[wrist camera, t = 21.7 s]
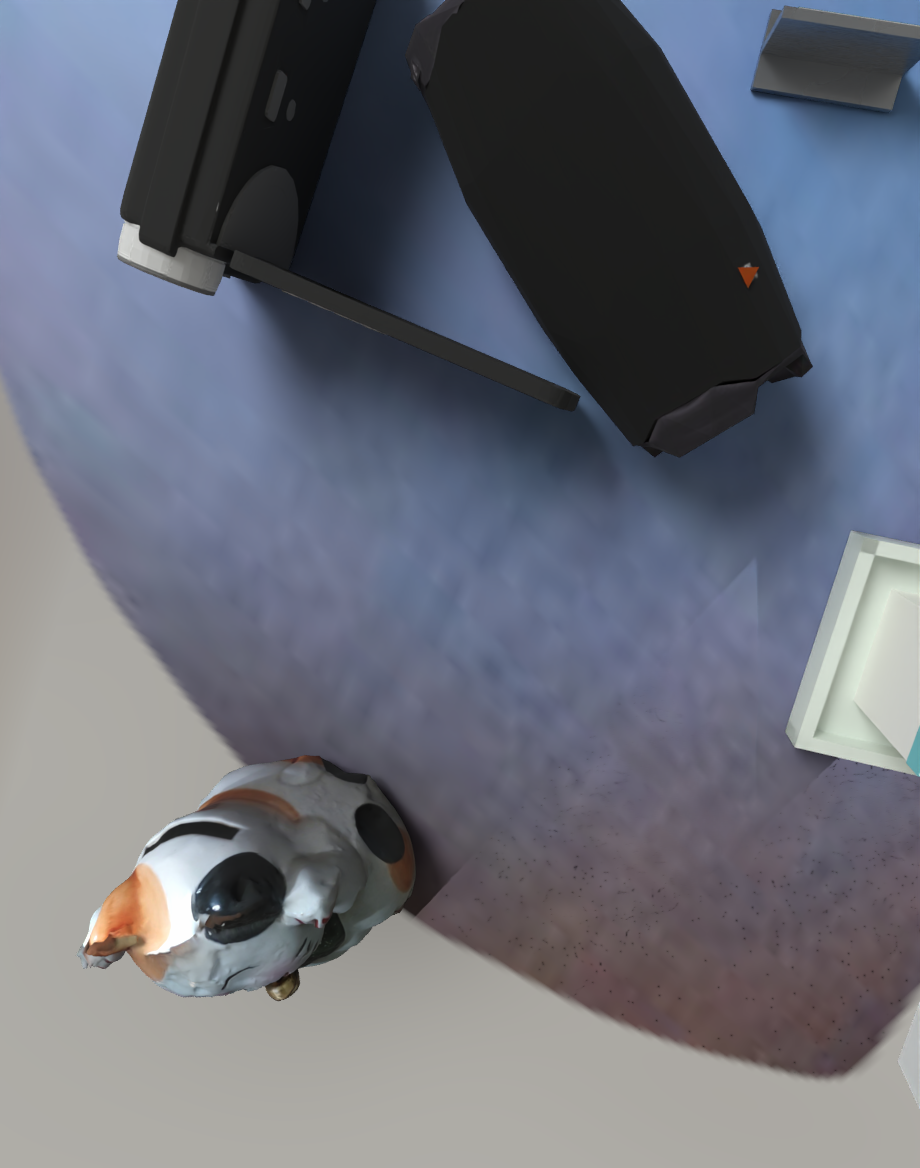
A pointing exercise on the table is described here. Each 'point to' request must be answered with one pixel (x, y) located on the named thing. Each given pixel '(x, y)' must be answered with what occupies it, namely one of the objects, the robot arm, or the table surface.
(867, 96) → the card holder
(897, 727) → the block
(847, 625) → the tray
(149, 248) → the camcorder
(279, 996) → the lucky cat figurine
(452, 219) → the table surface
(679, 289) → the portable speaker
